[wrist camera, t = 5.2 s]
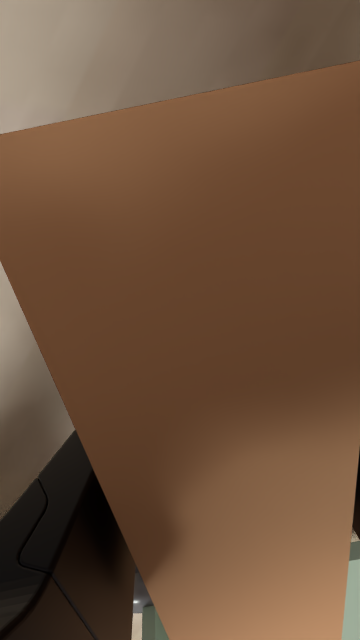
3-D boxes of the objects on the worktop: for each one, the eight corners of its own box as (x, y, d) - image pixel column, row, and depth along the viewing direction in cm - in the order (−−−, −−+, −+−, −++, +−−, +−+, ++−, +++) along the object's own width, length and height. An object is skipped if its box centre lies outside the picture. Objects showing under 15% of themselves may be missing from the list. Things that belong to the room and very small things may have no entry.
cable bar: (171, 494, 13) (185, 676, 8) (68, 151, 7) (-53, 144, 3) (272, 473, 13) (341, 643, 8) (243, 115, 7) (397, 53, 3)
